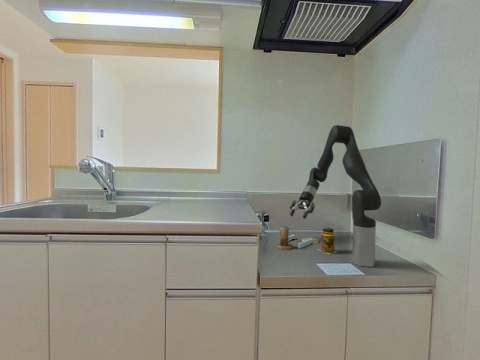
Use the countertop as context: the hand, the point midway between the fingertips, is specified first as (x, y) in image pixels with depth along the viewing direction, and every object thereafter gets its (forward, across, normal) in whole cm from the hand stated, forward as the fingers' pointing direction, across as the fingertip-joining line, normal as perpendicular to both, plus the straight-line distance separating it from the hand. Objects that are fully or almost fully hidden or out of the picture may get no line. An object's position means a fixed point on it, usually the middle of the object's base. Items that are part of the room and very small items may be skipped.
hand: (297, 216), depth 154 cm
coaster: (+5, +4, +16) cm, 18 cm away
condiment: (+12, +19, +10) cm, 25 cm away
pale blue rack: (+11, 0, +10) cm, 15 cm away
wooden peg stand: (+19, 0, +2) cm, 19 cm away
